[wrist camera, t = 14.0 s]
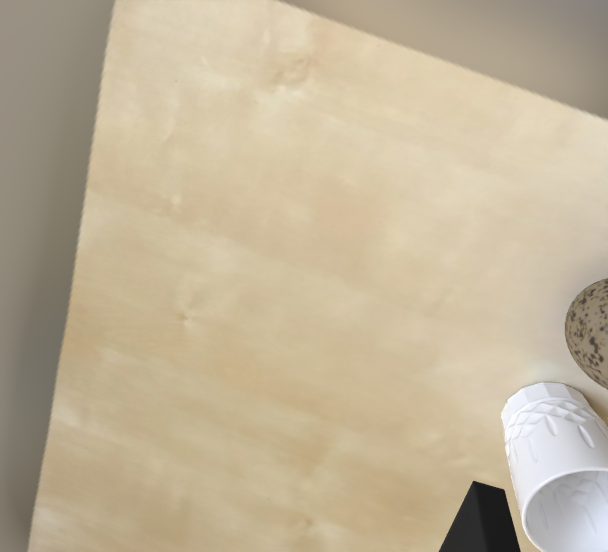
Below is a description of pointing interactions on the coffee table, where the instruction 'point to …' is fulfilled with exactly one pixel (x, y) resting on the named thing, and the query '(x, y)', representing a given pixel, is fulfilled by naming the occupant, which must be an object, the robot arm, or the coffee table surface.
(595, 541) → the white cup
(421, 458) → the coffee table surface
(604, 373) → the decorative egg
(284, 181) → the coffee table surface
